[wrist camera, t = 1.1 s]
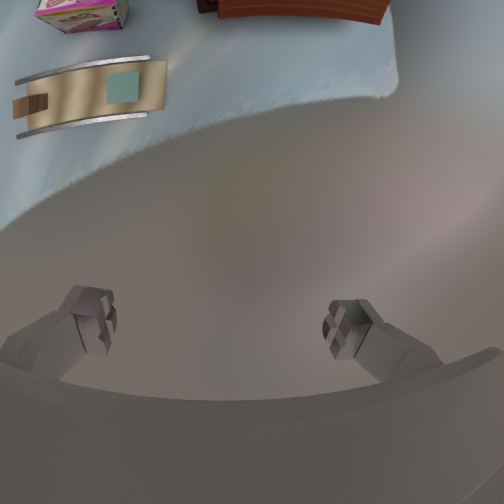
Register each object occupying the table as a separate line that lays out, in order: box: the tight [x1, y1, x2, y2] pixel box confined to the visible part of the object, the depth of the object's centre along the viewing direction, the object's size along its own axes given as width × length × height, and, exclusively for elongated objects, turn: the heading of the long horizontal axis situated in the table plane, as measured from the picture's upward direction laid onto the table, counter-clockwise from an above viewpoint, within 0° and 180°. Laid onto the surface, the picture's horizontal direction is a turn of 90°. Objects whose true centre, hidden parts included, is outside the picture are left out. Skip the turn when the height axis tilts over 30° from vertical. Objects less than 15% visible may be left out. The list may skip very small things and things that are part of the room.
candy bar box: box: [35, 0, 129, 34], centre depth 20 cm, size 11×5×16 cm, turn 78°
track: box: [15, 55, 150, 139], centre depth 33 cm, size 26×11×1 cm, turn 84°
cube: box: [106, 71, 140, 105], centre depth 34 cm, size 5×5×5 cm
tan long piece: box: [13, 61, 167, 130], centre depth 30 cm, size 26×9×10 cm, turn 84°
